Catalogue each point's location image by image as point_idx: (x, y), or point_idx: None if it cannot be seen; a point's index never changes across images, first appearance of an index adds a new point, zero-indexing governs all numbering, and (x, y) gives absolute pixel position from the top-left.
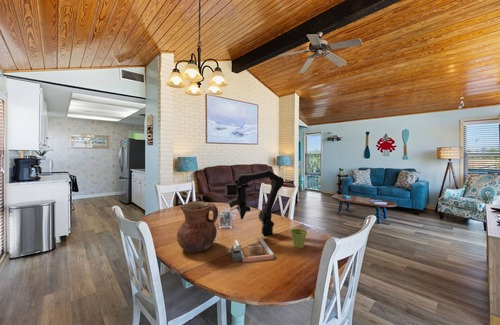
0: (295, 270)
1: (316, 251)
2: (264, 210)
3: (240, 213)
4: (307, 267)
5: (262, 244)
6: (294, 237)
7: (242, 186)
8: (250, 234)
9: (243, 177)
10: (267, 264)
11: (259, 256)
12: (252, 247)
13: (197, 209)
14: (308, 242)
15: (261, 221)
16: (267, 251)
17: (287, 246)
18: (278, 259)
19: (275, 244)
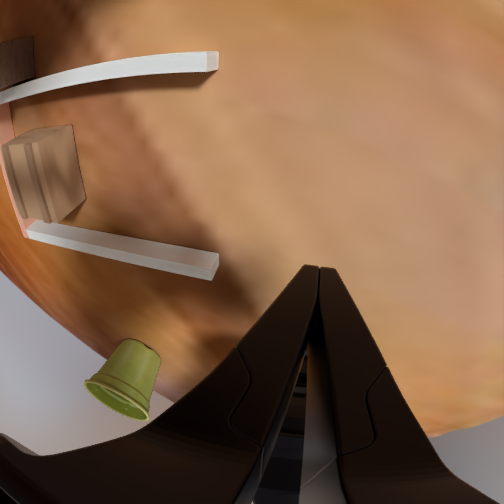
0: (2, 249)
1: (107, 358)
2: (291, 500)
3: (201, 385)
4: (22, 283)
5: (149, 243)
6: (104, 369)
7: None
8: (370, 246)
9: None
10: (4, 187)
11: (4, 175)
12: (8, 165)
13: None
14: (172, 385)
15: (302, 399)
16: (71, 229)
17: (136, 325)
18: None
19: (157, 300)
